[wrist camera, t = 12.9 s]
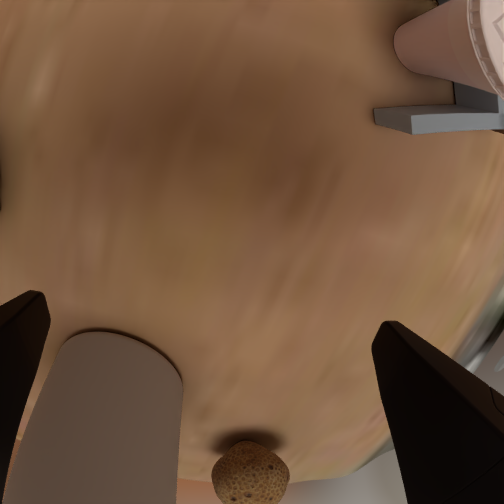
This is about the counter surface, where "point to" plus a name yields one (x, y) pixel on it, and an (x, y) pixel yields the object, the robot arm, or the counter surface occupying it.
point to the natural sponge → (250, 475)
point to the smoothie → (457, 43)
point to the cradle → (447, 112)
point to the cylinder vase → (102, 427)
